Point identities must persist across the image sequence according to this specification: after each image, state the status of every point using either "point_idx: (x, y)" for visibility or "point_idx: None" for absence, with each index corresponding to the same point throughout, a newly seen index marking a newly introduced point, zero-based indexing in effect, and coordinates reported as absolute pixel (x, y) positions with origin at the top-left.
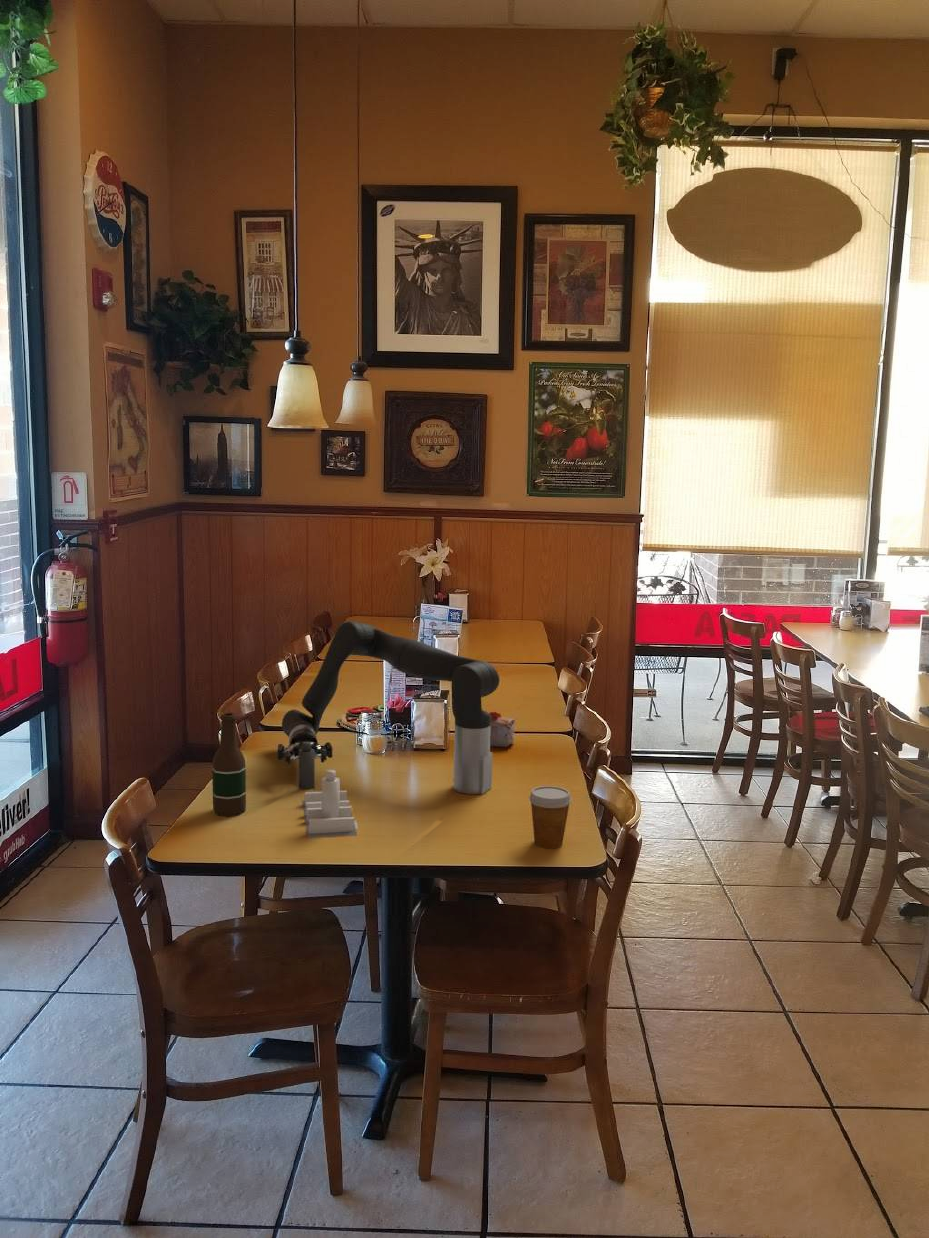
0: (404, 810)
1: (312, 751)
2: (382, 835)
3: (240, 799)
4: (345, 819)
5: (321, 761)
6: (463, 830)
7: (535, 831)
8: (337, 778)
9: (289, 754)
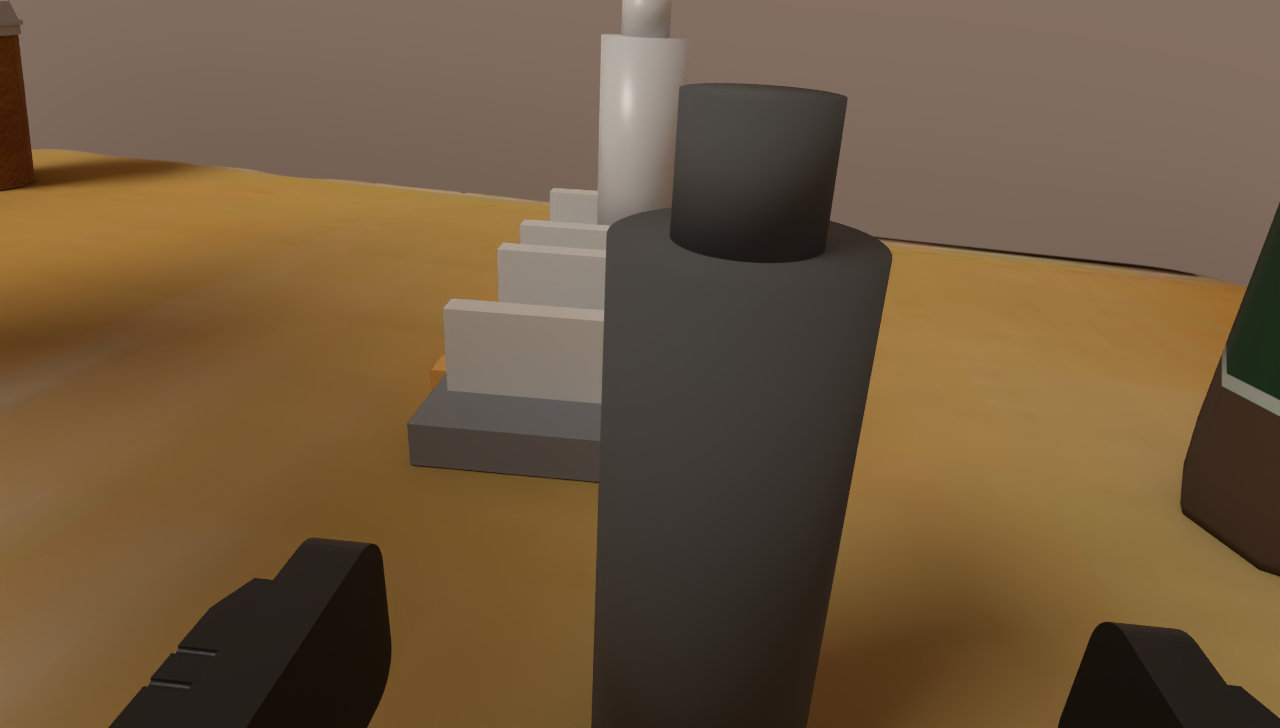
0: (139, 359)
1: (653, 217)
2: (438, 262)
3: (1214, 376)
4: (588, 192)
5: (389, 652)
6: (116, 240)
7: (23, 136)
8: (609, 35)
9: (1179, 690)
